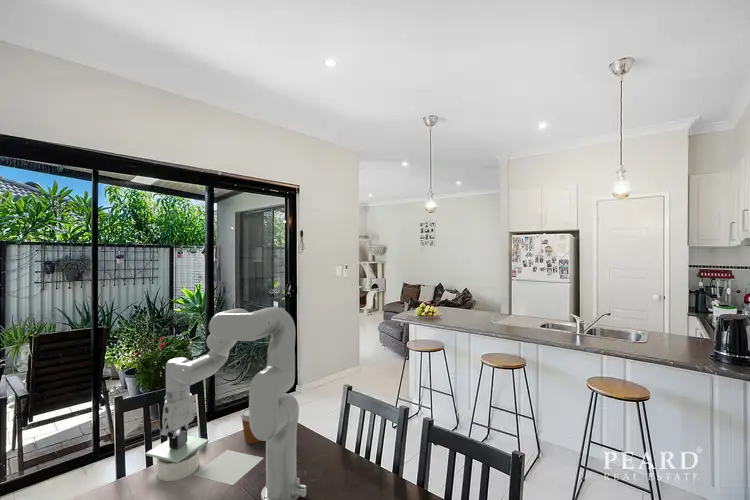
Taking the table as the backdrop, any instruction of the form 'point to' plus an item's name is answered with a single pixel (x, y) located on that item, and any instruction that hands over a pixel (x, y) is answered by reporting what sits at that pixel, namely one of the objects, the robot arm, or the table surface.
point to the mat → (228, 467)
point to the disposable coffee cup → (247, 428)
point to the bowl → (177, 467)
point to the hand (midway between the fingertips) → (178, 444)
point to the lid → (182, 447)
